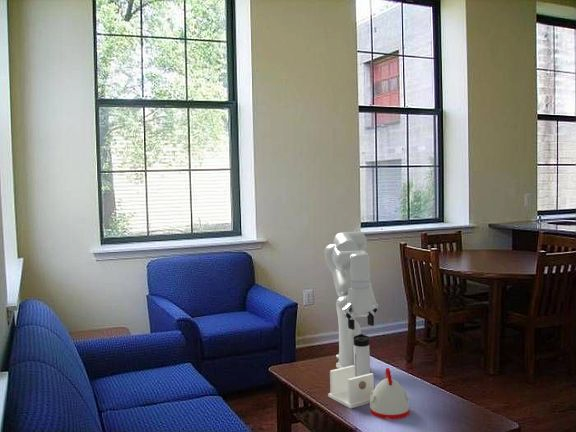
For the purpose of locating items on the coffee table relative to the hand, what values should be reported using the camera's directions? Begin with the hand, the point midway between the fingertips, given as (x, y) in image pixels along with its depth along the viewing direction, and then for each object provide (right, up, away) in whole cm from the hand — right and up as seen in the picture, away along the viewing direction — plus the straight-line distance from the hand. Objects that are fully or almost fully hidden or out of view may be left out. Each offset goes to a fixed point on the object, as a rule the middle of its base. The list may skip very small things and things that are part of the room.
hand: (361, 327), depth 227 cm
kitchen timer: (+7, -25, -24) cm, 36 cm away
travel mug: (+1, -24, +2) cm, 24 cm away
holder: (-5, -25, -12) cm, 28 cm away
